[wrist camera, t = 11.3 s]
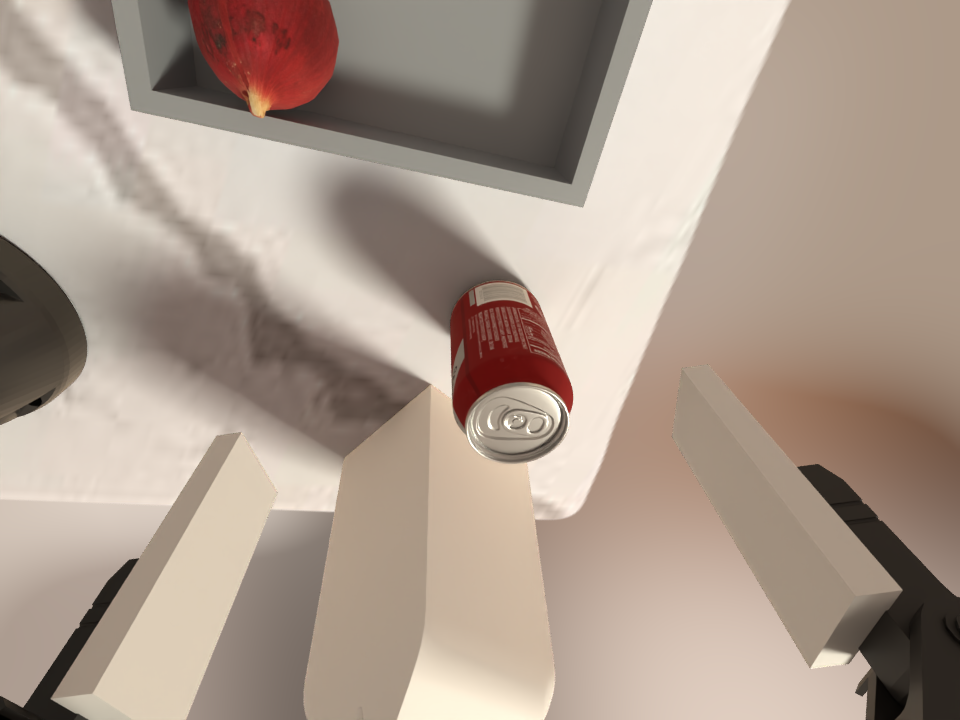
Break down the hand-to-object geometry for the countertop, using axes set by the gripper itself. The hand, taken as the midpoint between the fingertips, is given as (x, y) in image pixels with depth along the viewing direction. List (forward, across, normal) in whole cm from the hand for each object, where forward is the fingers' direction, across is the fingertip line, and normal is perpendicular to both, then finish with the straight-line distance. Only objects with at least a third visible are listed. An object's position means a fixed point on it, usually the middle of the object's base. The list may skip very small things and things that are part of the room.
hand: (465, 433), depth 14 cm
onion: (+18, -6, +14) cm, 23 cm away
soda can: (+19, +2, -7) cm, 20 cm away
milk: (+19, -5, -20) cm, 28 cm away
